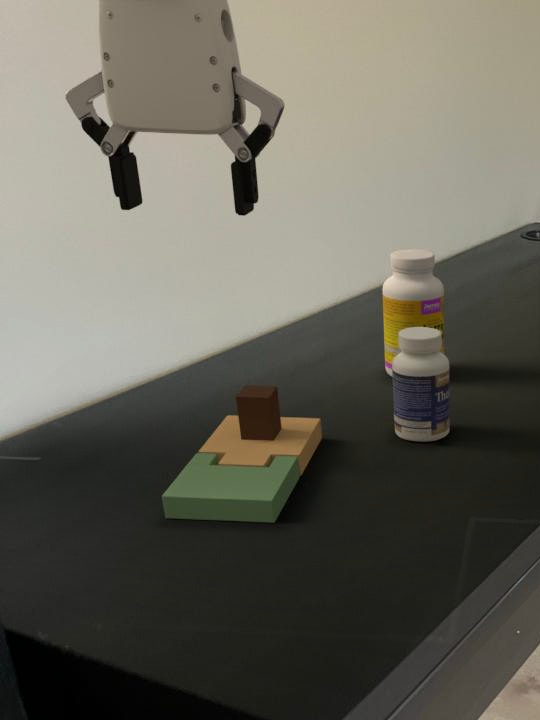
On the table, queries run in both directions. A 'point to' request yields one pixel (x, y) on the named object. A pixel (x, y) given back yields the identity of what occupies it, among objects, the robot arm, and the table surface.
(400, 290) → the supplement bottle
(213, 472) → the green pad
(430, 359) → the pill bottle
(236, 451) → the tan pad
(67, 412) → the table surface
